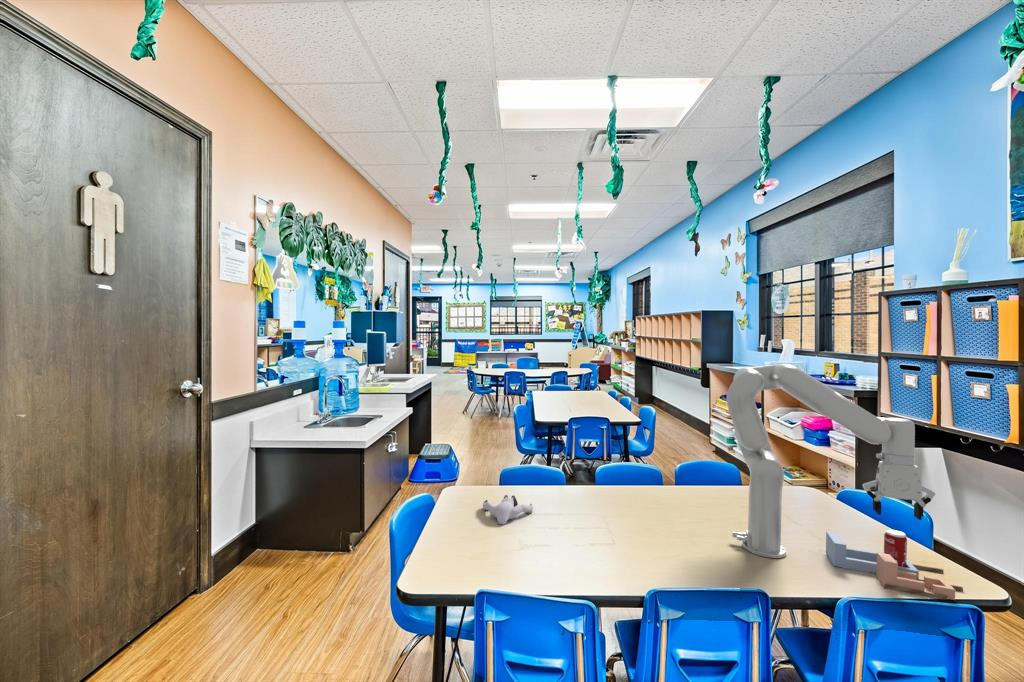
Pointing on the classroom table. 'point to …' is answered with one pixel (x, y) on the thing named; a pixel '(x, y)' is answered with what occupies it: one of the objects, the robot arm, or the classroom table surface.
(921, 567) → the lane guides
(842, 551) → the frame
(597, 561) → the classroom table surface
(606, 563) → the classroom table surface
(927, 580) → the broken frame end
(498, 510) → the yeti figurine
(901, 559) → the soda can
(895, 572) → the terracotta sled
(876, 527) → the classroom table surface
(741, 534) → the robot arm
